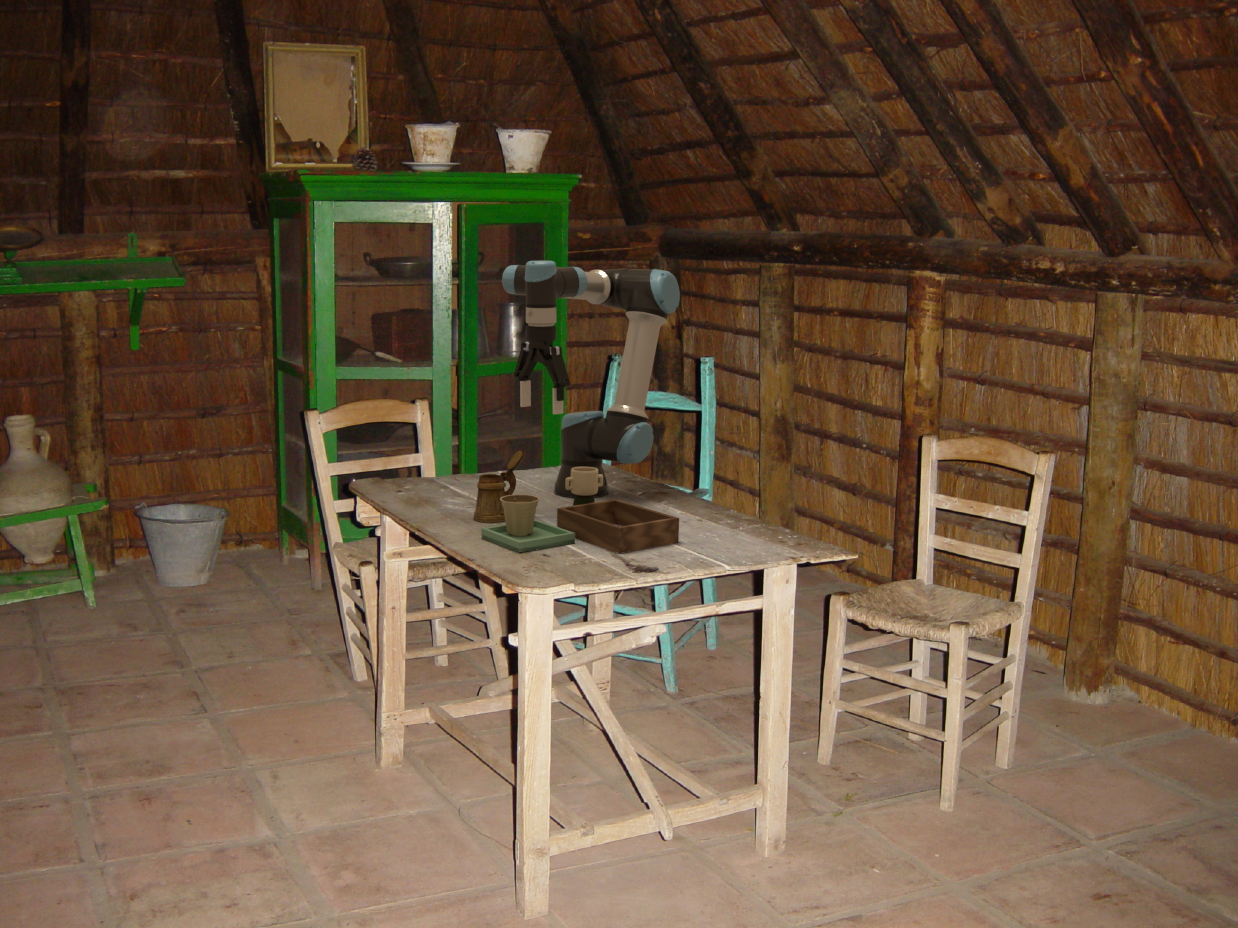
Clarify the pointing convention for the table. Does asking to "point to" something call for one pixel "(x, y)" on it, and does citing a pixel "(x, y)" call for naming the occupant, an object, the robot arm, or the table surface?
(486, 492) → the wooden mug
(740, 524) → the table surface
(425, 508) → the table surface
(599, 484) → the character mug
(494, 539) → the green tray
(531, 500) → the flower pot
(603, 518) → the walnut crate
